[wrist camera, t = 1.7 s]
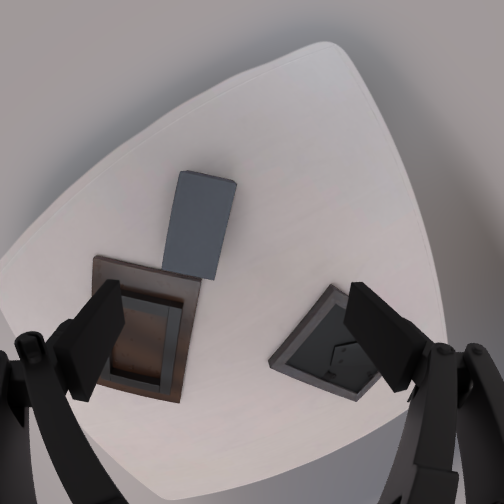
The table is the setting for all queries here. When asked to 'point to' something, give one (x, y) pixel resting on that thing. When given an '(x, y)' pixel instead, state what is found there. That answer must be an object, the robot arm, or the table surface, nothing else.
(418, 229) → the table surface
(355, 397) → the picture frame
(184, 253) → the pad block
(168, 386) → the back plate
